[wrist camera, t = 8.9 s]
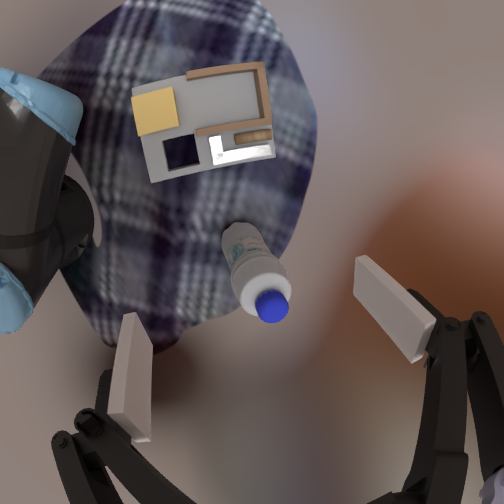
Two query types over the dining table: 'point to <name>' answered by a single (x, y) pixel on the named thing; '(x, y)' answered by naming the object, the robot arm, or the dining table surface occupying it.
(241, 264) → the bottle
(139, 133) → the block
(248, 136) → the dowel
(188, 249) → the dining table surface
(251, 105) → the cubby deck
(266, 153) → the crook tool
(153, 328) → the dining table surface
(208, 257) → the dining table surface
